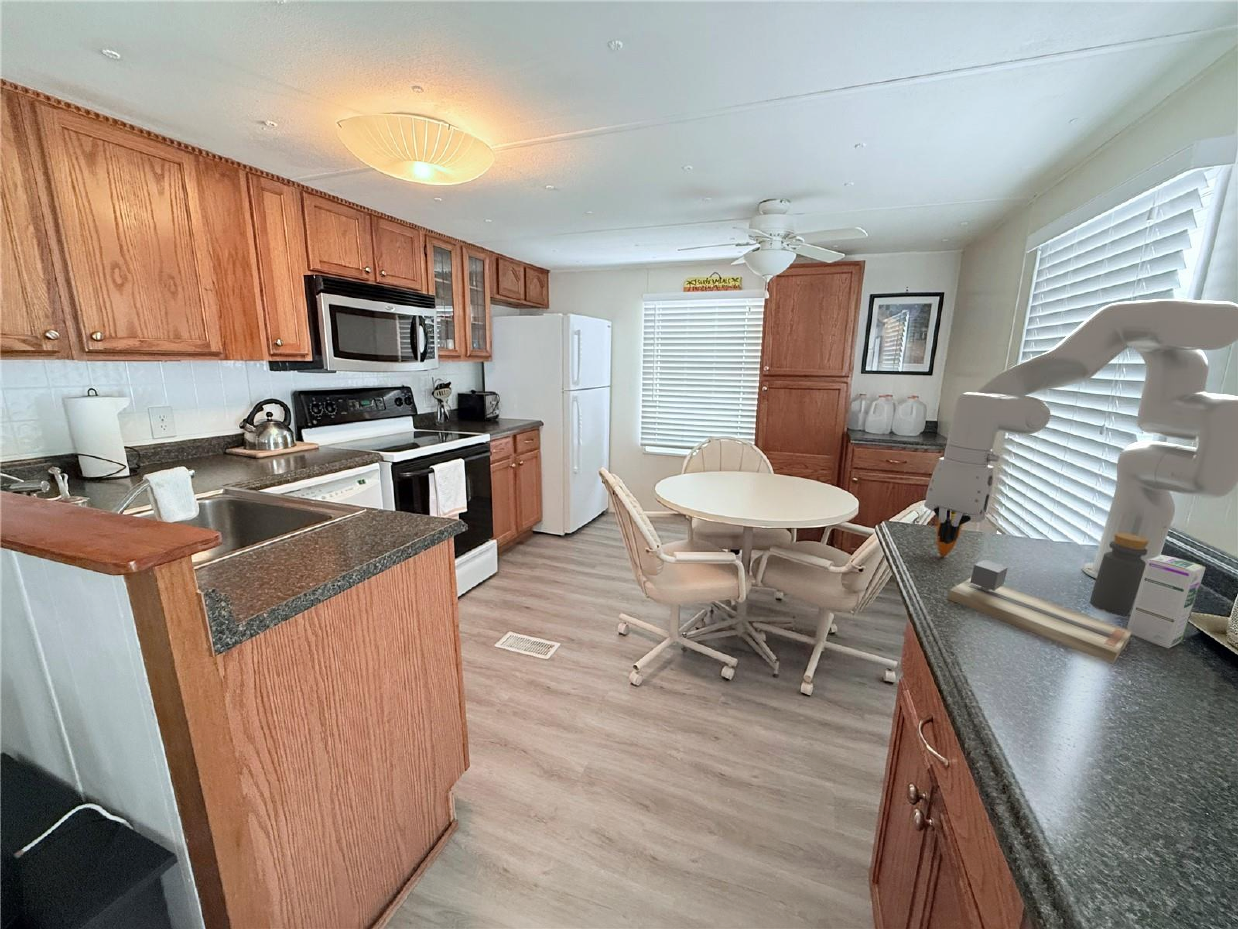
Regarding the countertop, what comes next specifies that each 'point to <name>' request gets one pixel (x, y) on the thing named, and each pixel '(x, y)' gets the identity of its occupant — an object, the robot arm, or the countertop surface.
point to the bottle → (1120, 574)
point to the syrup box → (1165, 600)
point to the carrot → (942, 546)
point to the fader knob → (988, 575)
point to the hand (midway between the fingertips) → (946, 541)
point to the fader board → (1045, 619)
